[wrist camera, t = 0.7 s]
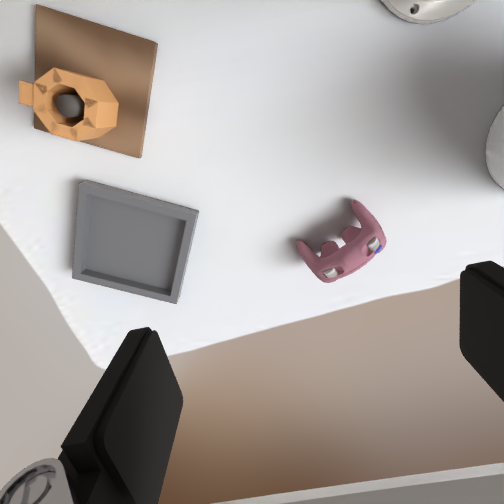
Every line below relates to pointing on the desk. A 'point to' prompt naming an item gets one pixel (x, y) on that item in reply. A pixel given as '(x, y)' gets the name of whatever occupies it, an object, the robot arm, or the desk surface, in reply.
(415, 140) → the desk surface
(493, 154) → the utensil holder
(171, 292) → the tray
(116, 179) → the desk surface
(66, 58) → the base
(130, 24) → the desk surface
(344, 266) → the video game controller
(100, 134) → the collar
